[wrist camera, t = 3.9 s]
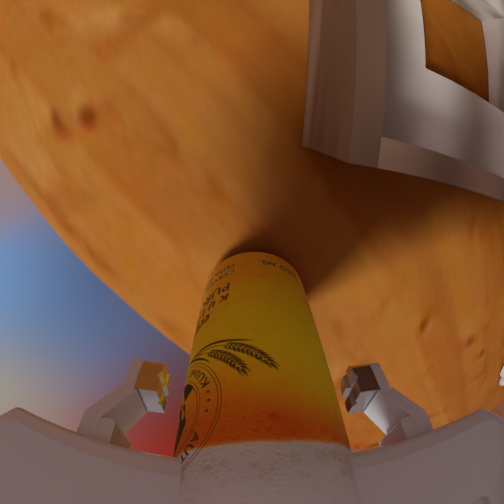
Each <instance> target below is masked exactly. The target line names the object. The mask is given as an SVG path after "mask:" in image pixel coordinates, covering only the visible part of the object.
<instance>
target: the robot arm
mask: <svg viewBox="0 0 504 504" xmlns="http://www.w3.org/2000/svg"><path fill="white" fill-rule="evenodd" d="M346 373H347V375H345V376H344V377H343V379H342V381H341V392H342V395H343V396H344V397H345V398H346V401H345V406H346V409H347V413H348V414H349V413H357V412H364V413H365V414H366V415H367V416H368V417H369V418H370V419H371V420H372V421H373V422H374V423H375V424H376V425H377V426H378V427H379V428H380V429H381V430H382V431H383V432H384V433H385V434H386V436H385V437H384V438H383V439H382V440H381V441H380V442H379V445H380V447H377V448H373V449H369V450H365V451H360V452H355V453H351V461H352V468H353V473H354V478H355V482H356V486H357V491H358V495H359V500H360V504H504V419H502V418H501V417H499V416H497V415H496V414H494V413H492V412H490V411H488V410H486V409H479V410H476V411H475V412H473V413H471V414H469V415H467V416H464V417H462V418H460V419H458V420H456V421H453V422H451V423H449V424H446V425H444V426H442V427H439V428H437V429H433V427H432V425H431V422H430V420H429V418H428V416H427V413H426V411H425V410H424V409H422V408H421V407H419V406H418V405H417V404H415V403H414V402H412V401H411V400H410V399H408V398H407V397H405V396H404V395H402V394H401V393H400V392H398V391H397V390H395V389H394V388H390V386H389V384H388V382H387V380H386V377H385V375H384V373H383V371H382V369H381V367H380V364H378V363H373V364H363V365H355V366H349V367H348V368H347V370H346ZM500 377H501V379H500V382H499V384H500V385H501V386H503V385H504V366H503V368H502V370H501V373H500ZM169 390H170V376H169V375H168V374H167V365H166V364H161V363H154V362H149V361H143V360H137V359H134V360H133V361H132V363H131V365H130V368H129V371H128V373H127V376H126V379H125V381H124V384H123V386H118V387H117V388H116V389H114V390H113V391H112V392H110V393H109V394H107V395H106V396H105V397H103V398H102V399H101V400H99V401H98V402H96V403H95V404H93V405H92V406H91V407H89V408H88V409H86V410H85V412H84V414H83V417H82V419H81V422H80V425H79V427H78V430H77V432H74V431H71V430H69V429H66V428H63V427H61V426H59V425H56V424H54V423H52V422H49V421H47V420H45V419H43V418H41V417H38V416H36V415H34V414H32V413H30V412H28V411H26V410H24V409H22V408H18V407H17V408H14V409H12V410H10V411H8V412H6V413H4V414H2V415H1V416H0V504H178V498H179V490H180V481H181V461H180V459H179V458H176V457H170V456H164V455H158V454H153V453H147V452H142V451H138V450H134V449H131V443H130V442H129V441H128V439H127V438H126V437H125V435H124V434H125V433H126V432H127V431H128V430H129V429H130V428H131V427H132V426H133V425H134V424H135V423H136V422H137V421H138V420H139V419H140V418H141V417H142V416H143V415H144V414H145V413H146V412H147V411H152V412H159V413H165V408H166V404H167V400H166V396H167V395H168V394H169Z"/></svg>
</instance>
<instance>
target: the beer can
mask: <svg viewBox="0 0 504 504" xmlns="http://www.w3.org/2000/svg"><path fill="white" fill-rule="evenodd" d="M173 457H176V458H179V459H180V461H181V481H180V490H179V498H178V504H360V500H359V495H358V491H357V486H356V482H355V478H354V473H353V468H352V461H351V449H350V445H349V441H348V437H347V433H346V430H345V426H344V422H343V418H342V414H341V411H340V407H339V403H338V400H337V396H336V392H335V389H334V385H333V382H332V378H331V375H330V371H329V368H328V365H327V361H326V358H325V354H324V351H323V348H322V344H321V341H320V338H319V335H318V331H317V328H316V325H315V322H314V319H313V315H312V312H311V309H310V306H309V303H308V300H307V297H306V294H305V290H304V287H303V284H302V281H301V279H300V276H299V274H298V273H297V271H296V270H295V269H294V268H293V267H292V265H290V264H289V263H288V262H287V261H285V260H284V259H282V258H280V257H278V256H275V255H273V254H269V253H264V252H246V253H240V254H237V255H234V256H232V257H229V258H227V259H226V260H224V261H223V262H221V263H220V264H219V265H217V266H216V267H215V268H214V270H213V271H212V272H211V274H210V275H209V277H208V279H207V282H206V285H205V290H204V294H203V299H202V303H201V308H200V312H199V317H198V322H197V327H196V332H195V336H194V341H193V346H192V351H191V356H190V362H189V367H188V372H187V378H186V383H185V388H184V395H183V400H182V405H181V411H180V418H179V424H178V430H177V436H176V442H175V450H174V456H173Z"/></svg>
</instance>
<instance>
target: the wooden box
mask: <svg viewBox="0 0 504 504" xmlns="http://www.w3.org/2000/svg"><path fill="white" fill-rule="evenodd" d="M450 1H452V2H454V3H455V4H457V5H458V6H460V7H461V8H463V9H464V10H466V11H467V12H469V13H470V14H472V15H473V16H474V17H476V18H477V19H478V20H480V21H481V22H482V27H483V33H484V39H485V46H486V55H487V66H488V84H489V102H487V101H486V100H484V99H483V98H481V97H479V96H478V95H476V94H474V93H473V92H471V91H469V90H468V89H466V88H464V87H462V86H460V85H459V84H457V83H455V82H453V81H451V80H449V79H447V78H445V77H443V76H441V75H439V74H437V73H435V72H433V71H431V70H429V69H426V62H425V39H424V27H423V17H422V9H421V2H420V0H310V12H309V43H308V65H307V82H306V98H305V111H304V124H303V136H302V146H303V147H306V148H309V149H312V150H315V151H318V152H320V153H323V154H326V155H328V156H331V157H334V158H336V159H339V160H341V161H344V162H346V163H350V164H356V165H362V166H368V167H374V168H379V169H385V170H390V171H395V172H400V173H404V174H409V175H414V176H418V177H422V178H426V179H430V180H434V181H438V182H442V183H446V184H450V185H453V186H457V187H460V188H464V189H467V190H470V191H474V192H477V193H480V194H483V195H486V196H489V197H492V198H495V199H498V200H501V201H504V0H450Z"/></svg>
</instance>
